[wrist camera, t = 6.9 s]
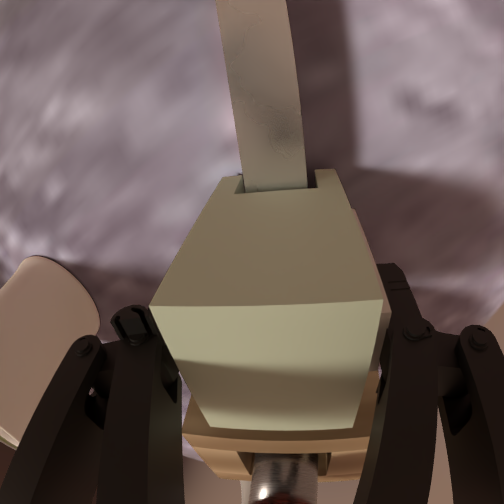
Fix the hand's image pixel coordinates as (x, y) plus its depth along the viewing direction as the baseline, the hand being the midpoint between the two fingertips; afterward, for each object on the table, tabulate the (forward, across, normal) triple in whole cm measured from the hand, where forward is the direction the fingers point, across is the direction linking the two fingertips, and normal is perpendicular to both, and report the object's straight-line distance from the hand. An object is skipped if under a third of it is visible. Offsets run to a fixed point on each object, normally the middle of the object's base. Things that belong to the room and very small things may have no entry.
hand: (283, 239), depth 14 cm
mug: (+1, -17, -6) cm, 18 cm away
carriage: (+1, 0, 0) cm, 1 cm away
